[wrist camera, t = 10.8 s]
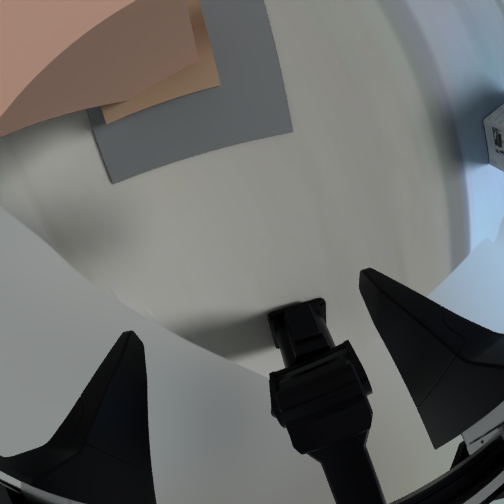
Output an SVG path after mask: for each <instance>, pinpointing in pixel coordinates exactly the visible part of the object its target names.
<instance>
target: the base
mask: <svg viewBox="0 0 504 504" xmlns="http://www.w3.org/2000/svg"><path fill="white" fill-rule="evenodd" d="M186 3H187V7H188V12H189V16H190V21H191V25H192V30H193V34H194V39H195V43H196V48H197V52H198V57H199V61H198V62H196V63H194V64H192V65H190V66H188V67H186V68H184V69H182V70H180V71H178V72H176V73H174V74H172V75H171V76H169V77H167V78H165V79H163V80H162V81H160V82H158V83H156V84H155V85H153V86H151V87H150V88H148V89H146V90H145V91H143V92H142V93H140V94H138V95H137V96H135V97H134V98H132V99H131V100H128V101H122V102H117V103H111V104H106V105H102V106H101V109H102V112H103V115H104V118H105V121H106V124H109V123H112V122H114V121H117V120H119V119H122V118H124V117H127V116H129V115H132V114H134V113H137V112H139V111H142V110H144V109H147V108H150V107H153V106H155V105H158V104H161V103H164V102H167V101H170V100H173V99H176V98H179V97H182V96H186V95H189V94H192V93H196V92H199V91H203V90H207V89H211V88H215V87H218V86H220V85H221V84H220V80H219V76H218V72H217V68H216V64H215V60H214V56H213V52H212V48H211V45H210V41H209V37H208V33H207V29H206V25H205V22H204V18H203V14H202V10H201V6H200V3H199V0H186Z"/></svg>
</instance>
